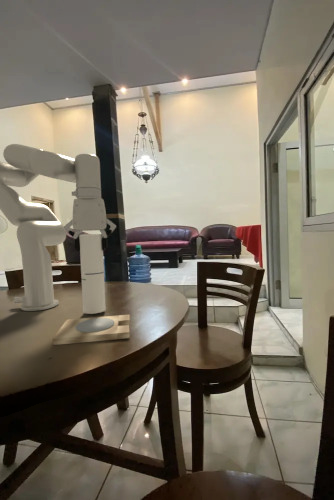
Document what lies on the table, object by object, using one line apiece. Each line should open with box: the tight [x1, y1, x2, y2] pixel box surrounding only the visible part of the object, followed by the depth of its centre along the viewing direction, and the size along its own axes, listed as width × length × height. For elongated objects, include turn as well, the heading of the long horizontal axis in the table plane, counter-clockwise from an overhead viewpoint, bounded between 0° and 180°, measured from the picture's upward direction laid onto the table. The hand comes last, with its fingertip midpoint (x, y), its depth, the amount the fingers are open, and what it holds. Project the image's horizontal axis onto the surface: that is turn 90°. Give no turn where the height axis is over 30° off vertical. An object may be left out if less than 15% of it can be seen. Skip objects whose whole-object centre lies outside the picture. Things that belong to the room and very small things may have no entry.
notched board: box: [52, 314, 131, 346], centre depth 70 cm, size 18×14×2 cm
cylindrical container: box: [79, 233, 107, 315], centre depth 85 cm, size 7×7×25 cm
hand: (91, 250), depth 84 cm, fingers closed on cylindrical container, 7 cm apart
